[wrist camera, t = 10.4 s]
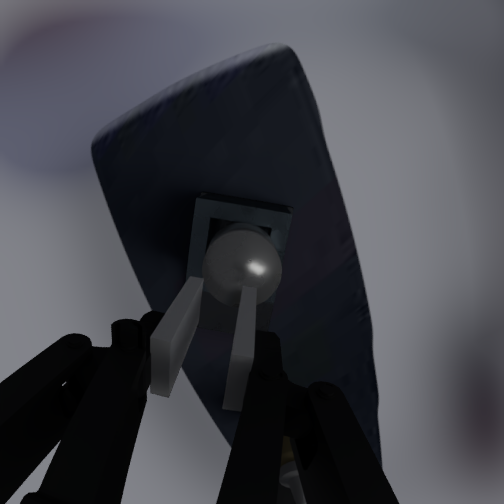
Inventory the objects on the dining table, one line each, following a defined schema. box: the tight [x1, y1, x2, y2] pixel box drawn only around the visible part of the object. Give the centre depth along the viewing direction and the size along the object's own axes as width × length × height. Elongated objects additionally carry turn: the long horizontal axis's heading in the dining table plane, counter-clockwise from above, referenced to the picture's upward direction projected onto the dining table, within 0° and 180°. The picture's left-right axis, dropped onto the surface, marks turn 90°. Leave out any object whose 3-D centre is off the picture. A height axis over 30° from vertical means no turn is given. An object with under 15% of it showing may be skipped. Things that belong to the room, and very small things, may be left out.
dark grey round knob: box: [202, 222, 282, 308], centre depth 28 cm, size 6×6×10 cm
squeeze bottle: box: [279, 435, 306, 504], centre depth 31 cm, size 8×8×18 cm
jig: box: [186, 192, 294, 334], centre depth 32 cm, size 16×10×7 cm, turn 170°
